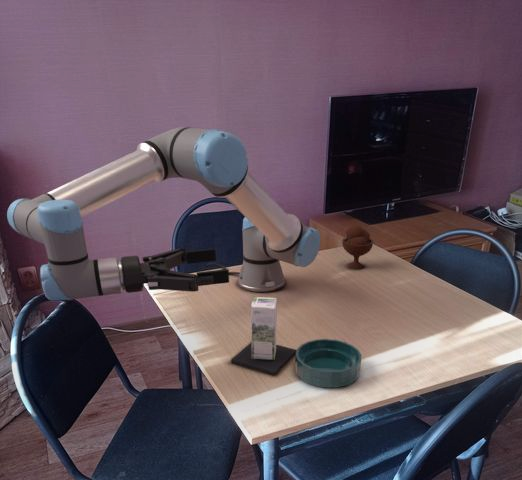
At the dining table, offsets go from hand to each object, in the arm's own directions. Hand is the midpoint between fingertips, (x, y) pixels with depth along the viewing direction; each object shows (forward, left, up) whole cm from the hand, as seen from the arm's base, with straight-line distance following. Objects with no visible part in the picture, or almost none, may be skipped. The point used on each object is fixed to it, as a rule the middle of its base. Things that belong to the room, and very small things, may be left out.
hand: (221, 264), depth 110 cm
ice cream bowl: (+5, +79, -26) cm, 83 cm away
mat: (+7, +7, -25) cm, 27 cm away
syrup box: (+7, +7, -25) cm, 26 cm away
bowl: (+23, +9, -25) cm, 35 cm away
